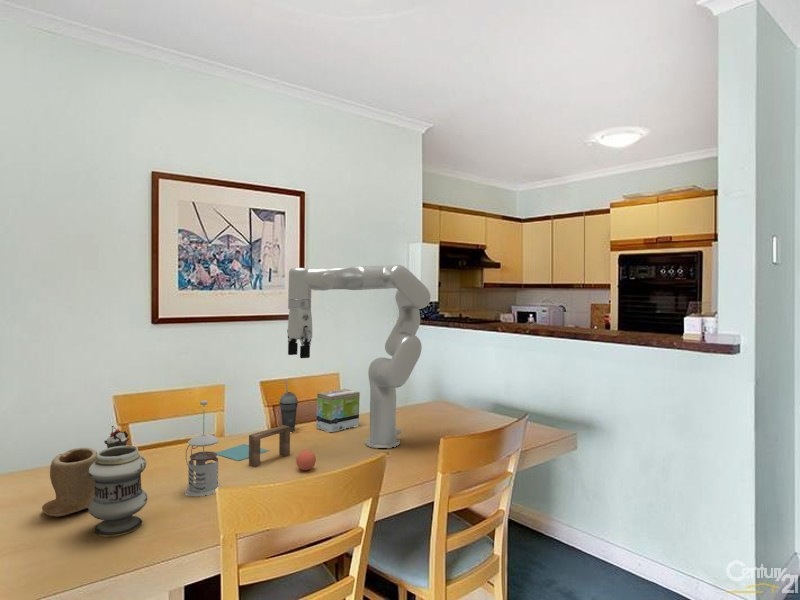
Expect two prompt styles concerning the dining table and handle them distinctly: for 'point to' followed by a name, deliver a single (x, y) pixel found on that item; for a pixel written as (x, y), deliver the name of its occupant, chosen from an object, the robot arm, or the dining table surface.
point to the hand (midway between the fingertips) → (298, 356)
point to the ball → (305, 460)
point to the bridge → (255, 438)
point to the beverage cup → (288, 409)
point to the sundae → (117, 439)
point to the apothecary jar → (117, 490)
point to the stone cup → (71, 482)
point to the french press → (202, 465)
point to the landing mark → (238, 452)
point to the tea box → (337, 410)
